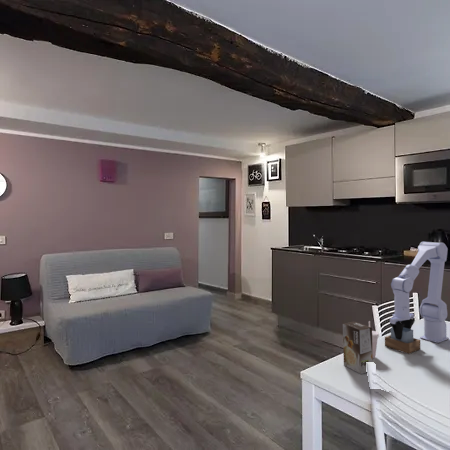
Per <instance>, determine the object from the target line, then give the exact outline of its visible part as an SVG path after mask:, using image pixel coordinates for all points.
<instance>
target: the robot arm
mask: <svg viewBox="0 0 450 450" xmlns="http://www.w3.org/2000/svg"><path fill="white" fill-rule="evenodd" d="M448 250H449V249H448V247H447V245H446V244H445V243H444V242H432V241H421V242H420V243H419V245H418V246H417V254H416V255H415V257H414V259H413V260H412V262H411V263H410V264H407V265H406V266H405V267H404V268H403V270H402V271H401V272H400V273H399V275H398V276H397V277H394V278H392V280H391V283H390V286H391V289H392V293H393V294H394V297H393V299H394V300H393V301H394V313H392V314H391V315H392V317H391V318H389V325H390V327H391V328H393V330H394V333H395V337H396V339H400V340H401V338H402V331H403V327H404V328H408V329H411V330H412V327H413V326H414V323H415V320H414V317H415V314H414V313H412V312H410V292H411V291H412V290H413V288H414V287H413V286H414V283H415V280H416V278H417V277H418V275H419V274H420V270H419V269H420V268H421V267H422V265H424V263H426V261H427V260H428V261H429V262H430V269H429V270H430V271H429V278H428V279H429V280H428V289H427V290H428V291H427V297H425V298H424V299H422V300H421V304H420V306H419V314H420V316H421V317H422V319H423V320H424V321H423V323H424V324H423V325H424V327H423V329H424V332H423V335H422V336H419V337H420V338H419V339H422V340H425V341H430V342H433V343H437V344H439V343H441V342H444V341H446V340H449V339H450V338H449V337H448V336H447V323H446V321H445V320H446V319H447V317H448V309H447V308H448V307H447V306H448V305H447V303H446V302H445V301H443V300H442V289H443V282H444V271H445V270H444V269H445V262H447V260H448V259H447V258H448Z"/></svg>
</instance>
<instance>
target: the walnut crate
mask: <svg viewBox="0 0 450 450" xmlns="http://www.w3.org/2000/svg"><path fill="white" fill-rule="evenodd" d="M384 347H387V348H389V349H392V350H395V351H398V352H402V353H404V354H408V355H410V354H412V353H415V352H418V351H420V350H421V339H420V338H419V339H418V338H414V337H413V342H411V343H405V342H401V341H398V340H395V339H391V334H390V335H386V336H384Z"/></svg>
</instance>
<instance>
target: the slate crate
mask: <svg viewBox="0 0 450 450" xmlns="http://www.w3.org/2000/svg"><path fill="white" fill-rule="evenodd" d="M390 335H391V339H395V340H398V341H401V342H405V343H411V342H413V338H414V329H412V328H411V329H408V328H404V327H403V331H402V338H401V340H400V339H396V337H395V333H394V330H393V328H392V327H390Z"/></svg>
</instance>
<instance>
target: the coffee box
mask: <svg viewBox="0 0 450 450" xmlns="http://www.w3.org/2000/svg"><path fill="white" fill-rule="evenodd" d="M372 331H373V327H372V326H370V327H369V325H366V324H363V323H360V322H358V321H349V322H346V323H345V322H344V323H342V340H343V341H342V343H343V345H342V347H343V366H344V367H346V368H349V369H350V370H352V371H354V372H356V373H358V374H360V375H362V374H366V362H373V363H374V361H373V359H374V358H373V351H372Z"/></svg>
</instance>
